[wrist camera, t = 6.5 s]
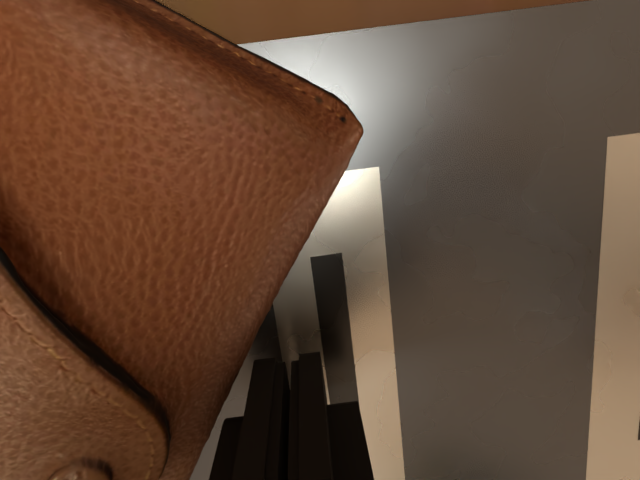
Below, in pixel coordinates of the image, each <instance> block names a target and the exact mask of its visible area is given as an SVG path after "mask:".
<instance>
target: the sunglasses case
mask: <svg viewBox="0 0 640 480" xmlns="http://www.w3.org/2000/svg"><path fill="white" fill-rule="evenodd" d="M363 133H364V131H363V127H362V125H361V123H360V122H359V121H358V119H357V118H356V116H355V115H354V113H353V112H352V111H351V109H350V108H349V106H348V105H347V104H346V103H344V102H343V101H342V100H341V99H340V98H338V97H337V96H336V95H334V94H333V93H331V92H329V91H327V90H325V89H323V88H321V87H319V86H317V85H315V84H314V83H312V82H310V81H308V80H306V79H305V78H303V77H301V76H299V75H297V74H295V73H293V72H291V71H289V70H287V69H285V68H283V67H281V66H279V65H277V64H275V63H273V62H271V61H270V60H268V59H266V58H264V57H262V56H259V55H257V54H255V53H253V52H251V51H249V50H247V49H244V48H242V47H240V46H238V45H236V44H234V43H231V42H230V41H228V40H226V39H224V38H223V37H221V36H219V35H217V34H215V33H214V32H212V31H210V30H208V29H206V28H204V27H202V26H200V25H198V24H197V23H195V22H193V21H191V20H190V19H188V18H186V17H185V16H183V15H181V14H179V13H177V12H175V11H173V10H171V9H169V8H168V7H166V6H164V5H162V4H161V3H159V2H157V1H155V0H0V480H190V477H191V475H192V473H193V470H194V468H195V466H196V464H197V462H198V460H199V457H200V455H201V452H202V450H203V447H204V446H205V444H206V442H207V441H208V439H209V437H210V434H211V431H212V429H213V427H214V425H215V423H216V420H217V417H218V415H219V413H220V411H221V409H222V407H223V404H224V402H225V401H226V399H227V397H228V395H229V393H230V390H231V388H232V385H233V383H234V381H235V379H236V378H237V376H238V374H239V371H240V369H241V367H242V365H243V363H244V360H245V359H246V357H247V354H248V352H249V350H250V348H251V346H252V344H253V342H254V339H255V337H256V335H257V333H258V330H259V328H260V326H261V324H262V323H263V321H264V319H265V317H266V315H267V313H268V312H269V311H270V309H271V306H272V304H273V301H274V299H275V298H276V296H277V295H278V293H279V290H280V287H281V286H282V284H283V282H284V280H285V278H286V277H287V275H288V273H289V271H290V269H291V268H292V266H293V265H294V263H295V261H296V259H297V257H298V255H299V253H300V251H301V250H302V248H303V246H304V244H305V243H306V241H307V240H308V238H309V237H310V234H311V232H312V230H313V229H314V227H315V225H316V223H317V221H318V219H319V217H320V216H321V214H322V212H323V210H324V209H325V207H326V206H327V204H328V201H329V199H330V197H331V196H332V194H333V192H334V191H335V189H336V187H337V185H338V183H339V182H340V179H341V178H342V176H343V174H344V172H345V170H346V169H347V168H348V165H349V162H350V159H351V158H352V156H353V154H354V152H355V150H356V148H357V146H358V143H359V141H360V139H361V137H362V135H363Z"/></svg>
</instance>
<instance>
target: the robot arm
mask: <svg viewBox="0 0 640 480" xmlns="http://www.w3.org/2000/svg"><path fill="white" fill-rule="evenodd" d="M209 480H374V476H373V471H372V466H371V462H370V457H369V452H368V447H367V442H366V437H365V432H364V428H363V423H362V418H361V413H360V408H359V404H358V401H352V402H344V403H337V404H329V405H328V404H327V396H326V389H325V381H324V374H323V367H322V359H321V352H320V351H318V352H311V353H303V354H299V360H295V361H291V382H290V387H289V381H288V375H287V368H286V363H285V362H279V363H278V361H277V358H276V357H273V358H265V359H257V360H254V362H253V368H252V373H251V379H250V384H249V389H248V395H247V400H246V405H245V411H244V416H239V417H231V418H226V419H225V420H224V422H223V424H222V428H221V432H220V436H219V440H218V444H217V448H216V452H215V456H214V460H213V464H212V469H211V473H210V477H209Z"/></svg>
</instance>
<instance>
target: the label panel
mask: <svg viewBox="0 0 640 480" xmlns="http://www.w3.org/2000/svg"><path fill="white" fill-rule="evenodd" d="M238 46H240V47H242V48H244V49H247V50H249V51H251V52H253V53H255V54H257V55H259V56H262V57H264V58H266V59H268V60H270V61H271V62H273V63H275V64H277V65H279V66H281V67H283V68H285V69H287V70H289V71H291V72H293V73H295V74H297V75H299V76H301V77H303V78H305V79H306V80H308V81H310V82H312V83H314V84H315V85H317V86H319V87H321V88H323V89H325V90H327V91H329V92H331V93H333V94H334V95H336V96H337V97H338V98H340V99H341V100H342V101H343V102H344V103H346V104H347V105H348V106H349V108H350V109H351V111H352V112H353V113H354V115H355V116H356V118H357V119H358V121H359V122H360V123H361V125H362V127H363V131H364V133H363V135H362V137H361V139H360V141H359V143H358V146H357V148H356V150H355V152H354V154H353V156H352V158H351V159H350V162H349V165H348V168H347V169H346V170H345V172H344V174H343V176H342V178H341V179H340V182H339V183H338V185H337V187H336V189H335V191H334V192H333V194H332V196H331V197H330V199H329V201H328V204H327V206H326V207H325V209H324V210H323V212H322V214H321V216H320V217H319V219H318V221H317V223H316V225H315V227H314V229H313V230H312V232H311V234H310V237H309V238H308V240H307V241H306V243H305V244H304V246H303V248H302V250H301V251H300V253H299V255H298V257H297V259H296V261H295V263H294V265H293V266H292V268H291V269H290V271H289V273H288V275H287V277H286V278H285V280H284V282H283V284H282V286H281V287H280V290H279V293H278V295H277V296H276V298H275V299H274V301H273V304H272V306H271V309H270V311H269V312H268V313H267V315H266V317H265V319H264V321H263V323H262V324H261V326H260V328H259V330H258V333H257V335H256V337H255V339H254V342H253V344H252V346H251V348H250V350H249V352H248V354H247V357H246V359H245V360H244V363H243V365H242V367H241V369H240V371H239V374H238V376H237V378H236V379H235V381H234V383H233V385H232V388H231V390H230V393H229V395H228V397H227V399H226V401H225V402H224V404H223V407H222V409H221V411H220V413H219V415H218V417H217V420H216V423H215V425H214V427H213V429H212V431H211V434H210V437H209V439H208V441H207V442H206V444H205V446H204V447H203V450H202V452H201V455H200V457H199V460H198V462H197V464H196V466H195V468H194V470H193V473H192V475H191V477H190V480H209V477H210V473H211V469H212V464H213V460H214V456H215V452H216V448H217V444H218V440H219V436H220V432H221V428H222V424H223V422H224V420H225V419H226V418H231V417H239V416H244V411H245V405H246V400H247V395H248V389H249V384H250V379H251V373H252V368H253V362H254V360H257V359H265V358H273V357H276V358H277V361H278V363H279V362H285V363H286V368H287V375H288V381H289V387H290V382H291V361H295V360H299V354H303V353H311V352H318V351H320V352H321V359H322V367H323V374H324V381H325V389H326V396H327V404H328V405H329V404H337V403H344V402H352V401H358V404H359V408H360V413H361V418H362V423H363V428H364V432H365V437H366V442H367V447H368V452H369V457H370V462H371V466H372V471H373V476H374V480H640V0H591V1H583V2H575V3H567V4H559V5H551V6H542V7H534V8H526V9H518V10H510V11H502V12H494V13H486V14H478V15H470V16H462V17H454V18H446V19H438V20H430V21H422V22H414V23H406V24H398V25H390V26H382V27H374V28H366V29H358V30H350V31H342V32H334V33H326V34H318V35H310V36H302V37H294V38H286V39H278V40H270V41H262V42H254V43H246V44H238Z"/></svg>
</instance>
